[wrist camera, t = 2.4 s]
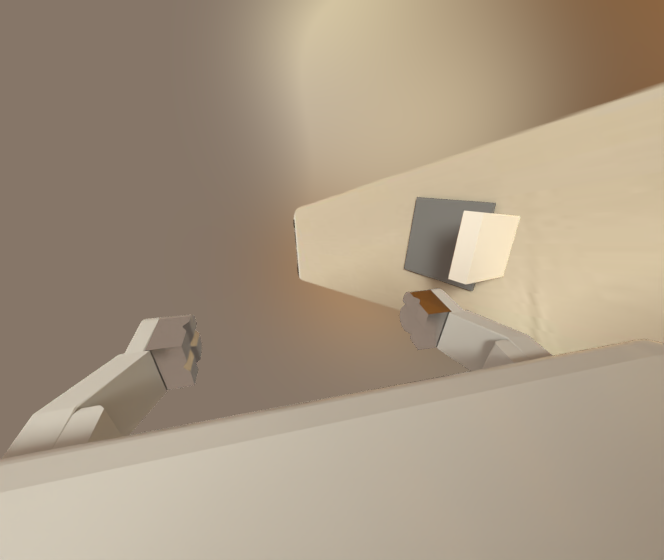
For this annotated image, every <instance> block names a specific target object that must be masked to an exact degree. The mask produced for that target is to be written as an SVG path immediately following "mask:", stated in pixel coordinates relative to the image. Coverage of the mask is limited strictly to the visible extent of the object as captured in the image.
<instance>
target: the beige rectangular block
mask: <svg viewBox="0 0 664 560" xmlns="http://www.w3.org/2000/svg"><path fill="white" fill-rule="evenodd" d="M520 217H521V216H514V215H504V214H494V213H484V212H474V211H464V212H463V216H462V220H461V225H460V229H459V233H458V237H457V242H456V246H455V250H454V255H453V259H452V263H451V268H450V272H449V277H448V279H450V280H453V281H456V282H460V283H463V284H471V283H475V282H480V281H485V280H490V279H494V278H499V277H503V275H504V272H505V268H506V265H507V262H508V258H509V255H510V251H511V248H512V244H513V241H514V238H515V234H516V231H517V227H518V224H519V221H520Z"/></svg>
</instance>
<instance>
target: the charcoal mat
mask: <svg viewBox="0 0 664 560" xmlns="http://www.w3.org/2000/svg"><path fill="white" fill-rule="evenodd" d="M495 205H496V203H488V202H475V201H461V200H448V199H434V198H421V197H417V200H416V206H415V211H414V217H413V222H412V228H411V234H410V239H409V245H408V250H407V256H406V261H405V267H404V269H406V270H409V271H412V272H415V273H418V274H421V275H424V276H427V277H430V278H434V279H437V280H440V281H443V282H446V283H449V284H452V285H455V286H458V287H461V288H464V289H467V290H470V291H473V289H474V285H475V283H471V284H463V283H460V282H456V281H453V280H450V279H448V277H449V272H450V268H451V263H452V259H453V255H454V250H455V246H456V242H457V237H458V233H459V229H460V225H461V220H462V216H463V212H464V211H474V212H484V213H494V209H495Z"/></svg>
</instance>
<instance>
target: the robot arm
mask: <svg viewBox="0 0 664 560" xmlns="http://www.w3.org/2000/svg"><path fill="white" fill-rule="evenodd" d="M403 302H404V303H405V305H404V306H403V307H402V308H401V311H400V322H401V324H402V327H403V328H404V330H405V331H407V332H408V333H410V334H411V336H410V339H411V340H412V342H413V343H414V345H415V346H416V348H417V349H418V350H419V349H427V348H435V347H437V349H439V350H440V351H442V352H443V353H445V354H446V355H448V356H449V357H450V358H452V359H454V360H455V361H457V362H458V363H459V364H461V365H462V366H464V367H465V368H467V369H468V370H470V371H469V372H463V373H458V374H453V375H448V376H442V377H437V378H432V379H427V380H421V381H415V382H410V383H405V384H399V385H394V386H389V387H383V388H378V389H373V390H367V391H362V392H356V393H351V394H346V395H341V396H335V397H330V398H324V399H319V400H314V401H309V402H303V403H298V404H293V405H287V406H282V407H276V408H271V409H266V410H261V411H255V412H250V413H245V414H239V415H234V416H229V417H223V418H218V419H213V420H207V421H202V422H196V423H191V424H187V425H180V426H175V427H170V428H164V429H160V430H154V431H149V432H143V433H138V434H132V435H130V434H131V432H132V431H133V430H134V429H135V428H136V427H137V426H138V424H139V423H140V422H141V421H142V420H143V419H144V418H145V416H146V415H147V414H148V413H149V412H150V410H151V409H152V408H153V407H154V406H155V405H156V404H157V403H158V401H159V400H160V399H161V398H162V397H163V396H164V395H165V393H166V392H167V390H171V389H176V388H182V387H187V386H193V385H195V382H196V377H197V373H198V367H197V362H198V361H199V360H200V359H201V353H202V342H201V337H200V333H199V332H197V331H196V330H195V329H196V325H197V322H196V319H195V316H194V315H182V316H171V317H161V318H150V319H144V320H143V321H142V322H141V324H140V325H139V327H138V329H137V331H136V333H135V335H134V337H133V339H132V340H131V342H130V344H129V346H128V348H127V350H126V352H125V354H120V355H118V356H116V357H115V358H113V359H112V360H111V361H109V362H108V363H106V364H105V365H103V366H102V367H101V368H99V369H98V370H96V371H95V372H94V373H92V374H90V375H89V376H88V377H86V378H85V379H83V380H82V381H80V382H79V383H78V384H76V385H75V386H73V387H72V388H70V389H69V390H68V391H66V392H65V393H63V394H62V395H61V396H59V397H58V398H56V399H55V400H53V401H52V402H51V403H49V404H48V405H46V406H45V407H43V408H42V409H40V410H39V411H37V412H36V413H35V414H33V415H32V417H31V418H30V419H29V421H28V422H27V424H26V425H25V426H24V428H23V429H22V431H21V432H20V433H19V435H18V436H17V438H16V439H15V440H14V442H13V443H12V444H11V446H10V447H9V449H8V450H7V451H6V453H5V454H4V455H3V457H2V458H1V459H0V560H664V343H661V342H657V341H652V340H647V339H640V340H632V341H628V342H623V343H618V344H613V345H607V346H602V347H597V348H591V349H586V350H581V351H575V352H570V353H565V354H559V355H554V356H553V355H551V354H550V353H549V352H548V351H547V350H545V349H544V348H543V347H542V346H541V345H539V344H538V343H537V342H536V341H535V340H533V339H532V338H531V337H530V336H529V335H527V334H524V333H522V332H519V331H517V330H514V329H512V328H510V327H507V326H505V325H502V324H500V323H497V322H495V321H493V320H490V319H488V318H485V317H483V316H481V315H478V314H476V313H473V312H471V311H468V310H463V309H462V308H461V307H460V306H459V305H458V304H457V303H456V302H455V301H454V300H453V299H452V298H451V297H449V296H448V295H447V294H446V293H445V292H444V291H443V290H442V289H440V288H436V289H429V290H423V291H414V292H406V293H405V295H404V298H403Z"/></svg>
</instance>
